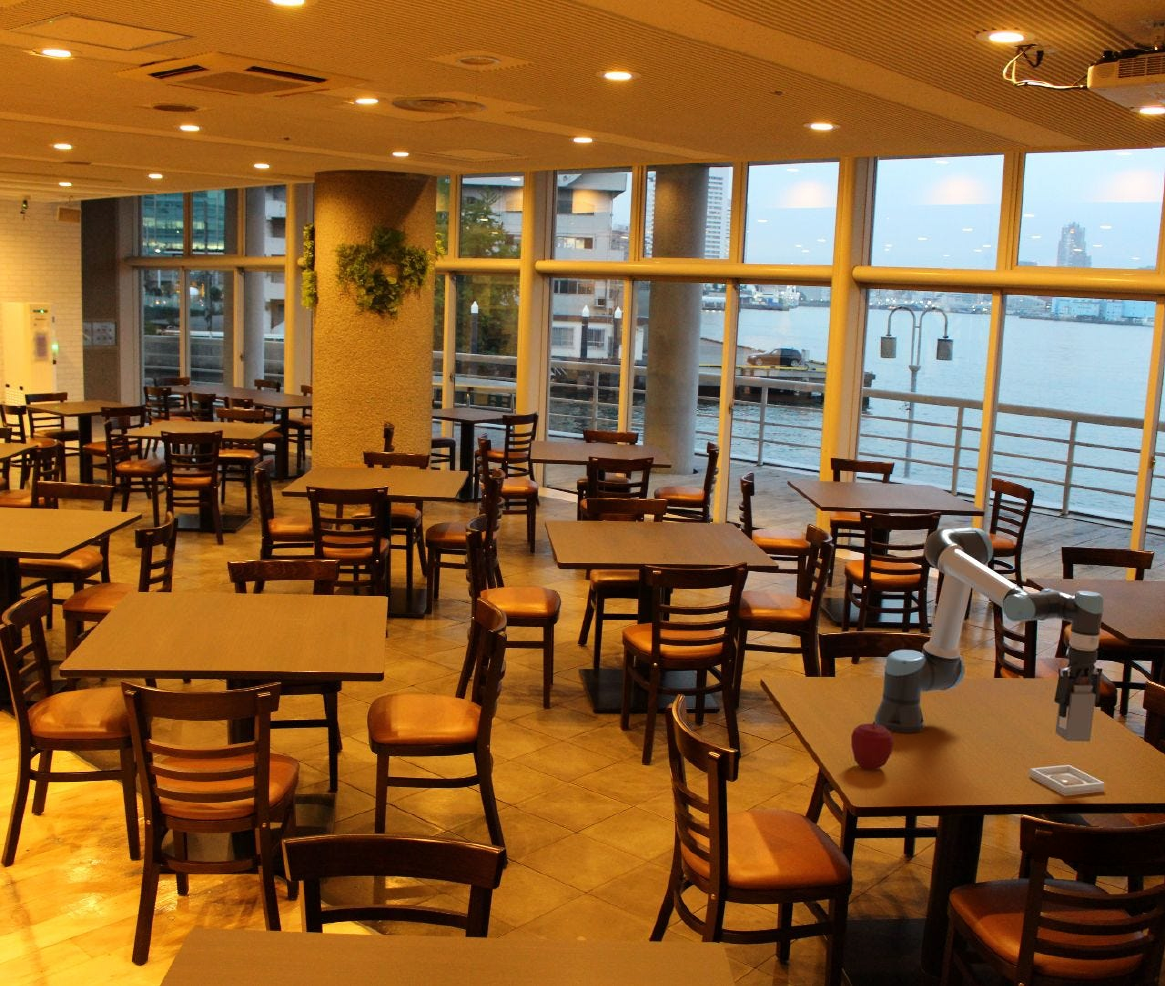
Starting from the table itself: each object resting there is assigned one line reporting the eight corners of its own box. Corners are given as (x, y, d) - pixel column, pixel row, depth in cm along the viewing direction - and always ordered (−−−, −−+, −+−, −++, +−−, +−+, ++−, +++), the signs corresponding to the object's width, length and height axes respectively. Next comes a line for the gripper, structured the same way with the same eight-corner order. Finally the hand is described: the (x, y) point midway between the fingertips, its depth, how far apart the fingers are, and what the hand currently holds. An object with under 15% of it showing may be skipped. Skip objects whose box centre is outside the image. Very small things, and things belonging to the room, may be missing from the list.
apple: (882, 779, 344) (887, 733, 342) (842, 769, 350) (846, 723, 348) (896, 767, 354) (900, 722, 352) (857, 757, 360) (861, 713, 358)
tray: (1064, 795, 340) (1065, 787, 340) (1029, 776, 353) (1030, 768, 353) (1104, 791, 345) (1105, 783, 345) (1068, 772, 358) (1069, 764, 358)
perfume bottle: (1055, 732, 350) (1062, 671, 347) (1078, 733, 350) (1085, 671, 348) (1066, 741, 343) (1074, 678, 340) (1089, 741, 344) (1097, 679, 341)
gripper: (1065, 652, 336) (1055, 734, 339) (1120, 649, 343) (1110, 729, 346) (1046, 645, 343) (1036, 724, 346) (1100, 642, 350) (1090, 720, 353)
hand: (1073, 726), depth 346 cm, fingers closed on perfume bottle, 6 cm apart
